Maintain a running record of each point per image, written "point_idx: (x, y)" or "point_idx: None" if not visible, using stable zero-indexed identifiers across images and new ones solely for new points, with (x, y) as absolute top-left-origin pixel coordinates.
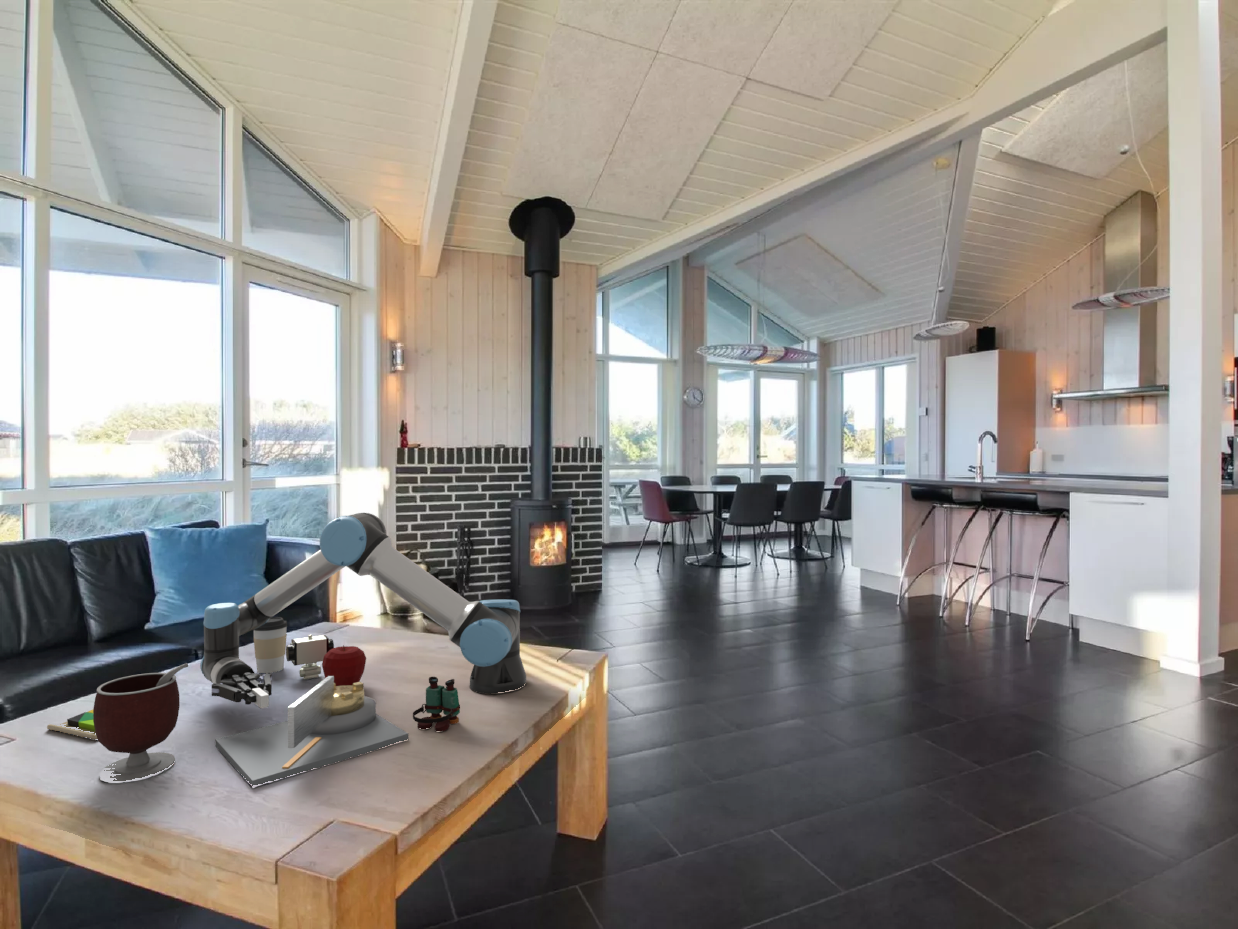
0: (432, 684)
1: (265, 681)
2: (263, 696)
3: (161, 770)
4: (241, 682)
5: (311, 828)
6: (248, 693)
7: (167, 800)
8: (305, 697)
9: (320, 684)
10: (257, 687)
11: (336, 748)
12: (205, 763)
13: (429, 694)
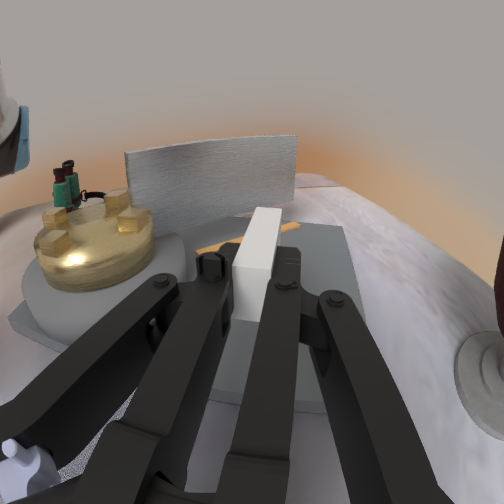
0: (64, 174)
1: (127, 325)
2: (274, 210)
3: (468, 338)
4: (244, 449)
5: (313, 189)
6: (293, 275)
7: (434, 268)
8: (254, 136)
9: (186, 143)
10: (227, 285)
11: (211, 225)
12: (398, 334)
13: (68, 189)
